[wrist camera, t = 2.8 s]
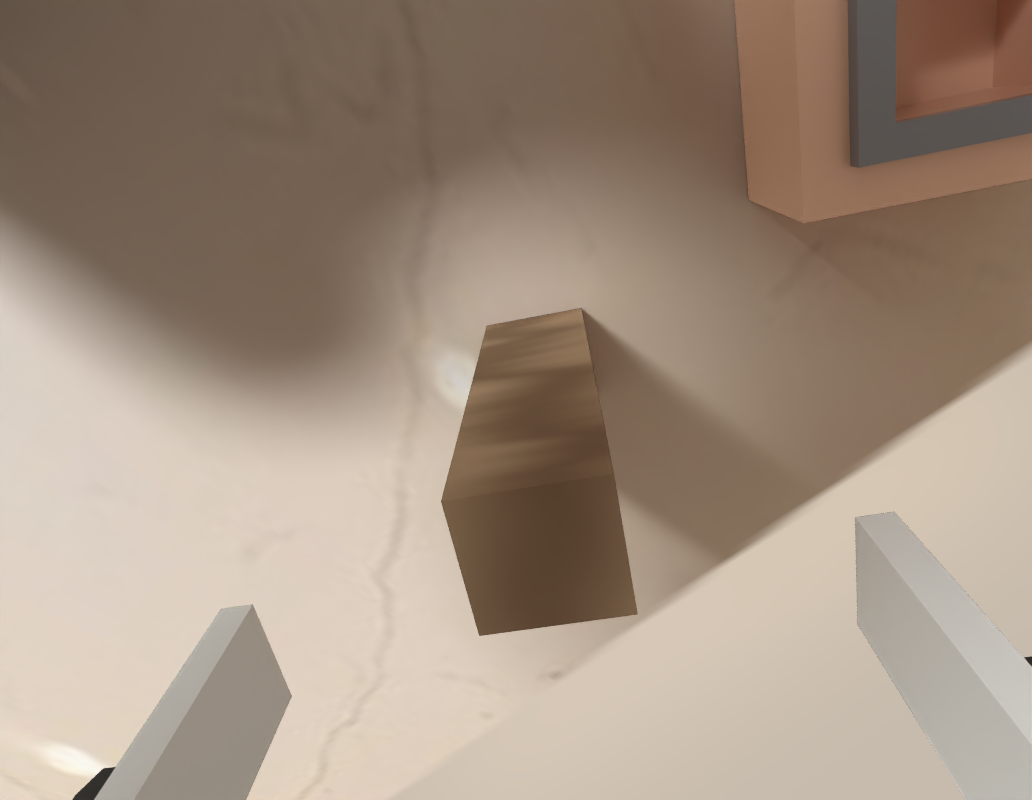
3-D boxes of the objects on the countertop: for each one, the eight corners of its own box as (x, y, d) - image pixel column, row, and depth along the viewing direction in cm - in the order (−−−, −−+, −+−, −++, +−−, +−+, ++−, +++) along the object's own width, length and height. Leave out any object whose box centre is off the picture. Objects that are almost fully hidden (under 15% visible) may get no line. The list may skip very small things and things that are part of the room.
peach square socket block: (748, 199, 26) (810, 226, 20) (726, -108, 23) (794, -189, 16) (1024, 145, 25) (1177, 155, 19) (1049, -189, 21) (1249, -307, 15)
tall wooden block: (506, 411, 30) (479, 635, 17) (486, 325, 29) (440, 501, 16) (596, 396, 30) (637, 614, 17) (581, 308, 28) (613, 473, 15)
